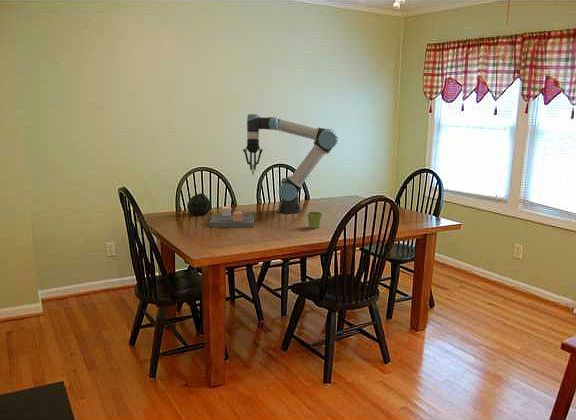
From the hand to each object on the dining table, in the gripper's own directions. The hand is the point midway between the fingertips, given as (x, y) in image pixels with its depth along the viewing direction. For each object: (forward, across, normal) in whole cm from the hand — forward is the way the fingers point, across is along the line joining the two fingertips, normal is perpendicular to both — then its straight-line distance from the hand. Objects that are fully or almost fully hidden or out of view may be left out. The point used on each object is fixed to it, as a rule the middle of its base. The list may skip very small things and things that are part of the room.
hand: (252, 174), depth 329 cm
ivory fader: (+23, +16, +18) cm, 34 cm away
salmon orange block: (+23, +8, +33) cm, 41 cm away
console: (+26, +12, +25) cm, 38 cm away
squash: (+27, +35, 0) cm, 44 cm away
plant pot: (+27, -37, +36) cm, 58 cm away
